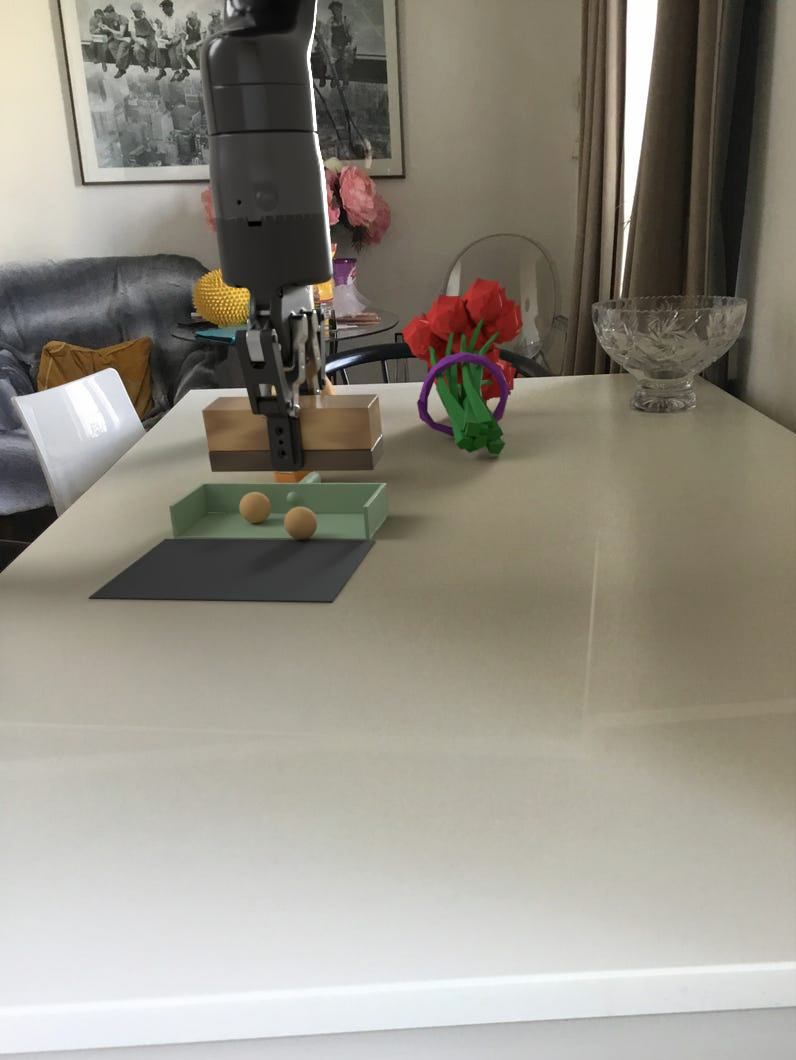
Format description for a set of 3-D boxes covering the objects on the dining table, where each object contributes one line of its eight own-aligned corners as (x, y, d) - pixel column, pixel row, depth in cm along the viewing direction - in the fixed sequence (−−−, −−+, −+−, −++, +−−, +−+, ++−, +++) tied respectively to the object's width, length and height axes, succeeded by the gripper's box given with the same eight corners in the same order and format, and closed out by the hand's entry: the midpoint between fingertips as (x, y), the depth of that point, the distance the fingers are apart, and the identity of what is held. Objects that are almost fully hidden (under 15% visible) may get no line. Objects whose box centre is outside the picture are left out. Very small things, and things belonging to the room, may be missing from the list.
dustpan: (369, 541, 96) (367, 506, 95) (174, 539, 99) (168, 505, 97) (403, 494, 111) (401, 463, 110) (232, 494, 114) (228, 463, 112)
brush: (211, 472, 76) (200, 411, 74) (229, 455, 80) (219, 396, 78) (373, 470, 75) (367, 408, 73) (384, 453, 78) (379, 393, 76)
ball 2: (285, 500, 96) (292, 526, 99) (277, 519, 94) (284, 546, 96) (317, 499, 96) (323, 526, 98) (309, 519, 94) (316, 546, 96)
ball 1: (233, 513, 100) (238, 485, 101) (241, 527, 102) (246, 500, 104) (264, 514, 99) (269, 487, 101) (271, 529, 102) (276, 502, 103)
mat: (89, 600, 84) (88, 597, 84) (165, 541, 98) (165, 538, 98) (332, 604, 82) (331, 601, 82) (375, 543, 96) (375, 540, 96)
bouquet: (419, 511, 127) (405, 412, 152) (554, 502, 129) (518, 406, 153) (412, 353, 116) (398, 273, 140) (560, 345, 117) (520, 268, 142)
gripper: (251, 210, 77) (277, 441, 84) (176, 214, 64) (214, 488, 71) (350, 206, 76) (369, 440, 83) (295, 210, 63) (322, 487, 70)
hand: (297, 461), depth 77 cm, fingers closed on brush, 4 cm apart
